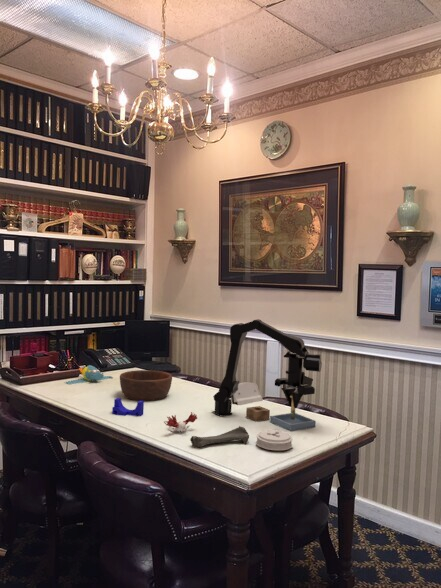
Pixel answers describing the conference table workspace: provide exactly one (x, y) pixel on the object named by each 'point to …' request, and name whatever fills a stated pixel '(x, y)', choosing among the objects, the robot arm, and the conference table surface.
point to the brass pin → (292, 408)
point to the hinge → (246, 394)
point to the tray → (292, 422)
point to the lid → (274, 440)
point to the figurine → (179, 423)
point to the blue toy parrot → (89, 375)
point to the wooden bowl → (145, 384)
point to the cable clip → (121, 410)
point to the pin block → (257, 413)
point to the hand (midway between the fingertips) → (293, 407)
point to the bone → (222, 437)
